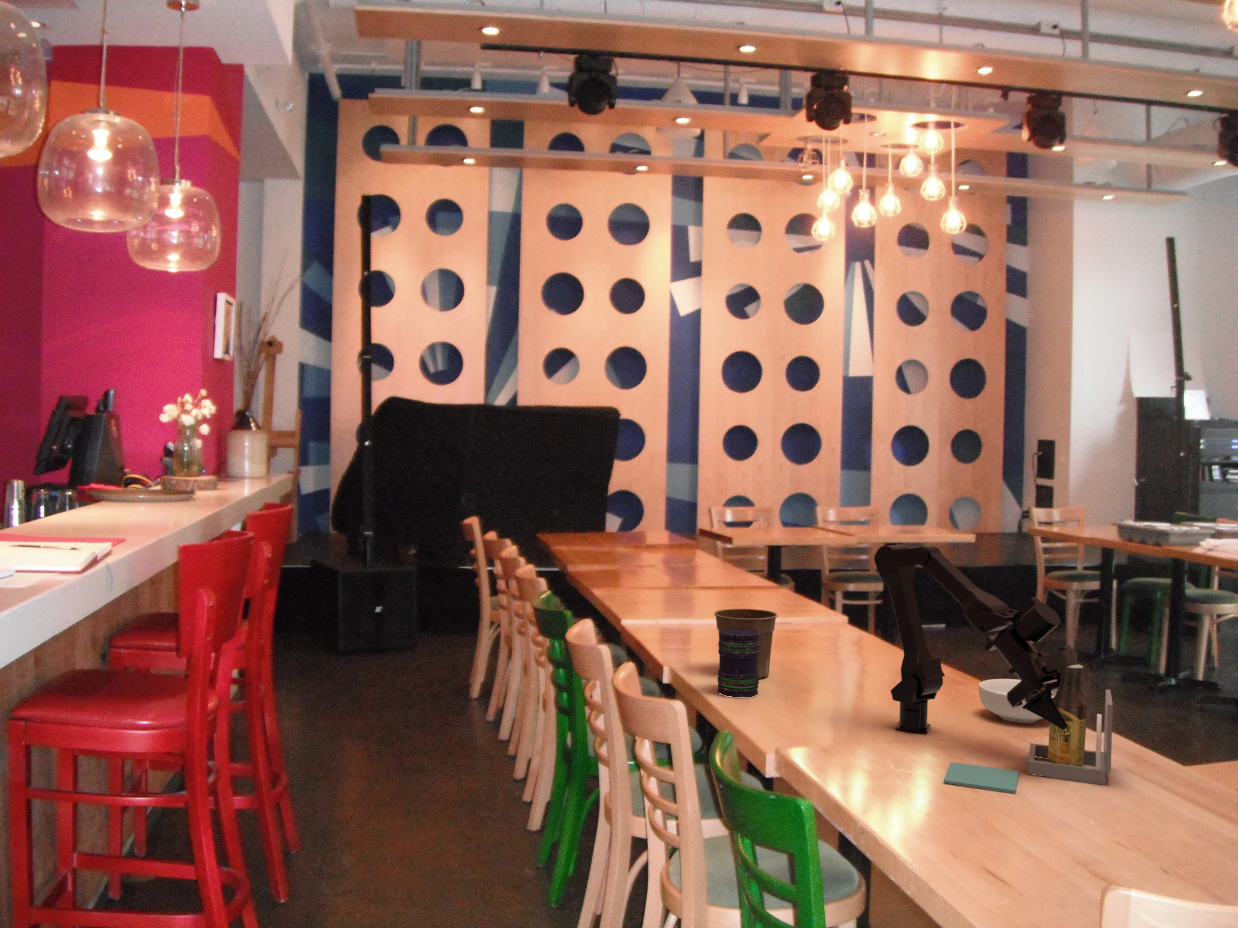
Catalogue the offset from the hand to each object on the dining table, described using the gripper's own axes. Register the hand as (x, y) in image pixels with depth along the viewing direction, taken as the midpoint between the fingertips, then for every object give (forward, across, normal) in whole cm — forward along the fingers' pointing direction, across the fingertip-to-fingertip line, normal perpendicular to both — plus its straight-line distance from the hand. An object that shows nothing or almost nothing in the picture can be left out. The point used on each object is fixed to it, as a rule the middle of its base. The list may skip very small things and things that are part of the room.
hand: (1074, 725), depth 195 cm
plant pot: (-59, +7, +72) cm, 93 cm away
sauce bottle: (+5, 0, +7) cm, 9 cm away
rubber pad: (+1, -18, +12) cm, 21 cm away
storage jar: (-50, -9, +62) cm, 80 cm away
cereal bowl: (-13, +27, +26) cm, 39 cm away
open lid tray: (+5, 0, +7) cm, 9 cm away
